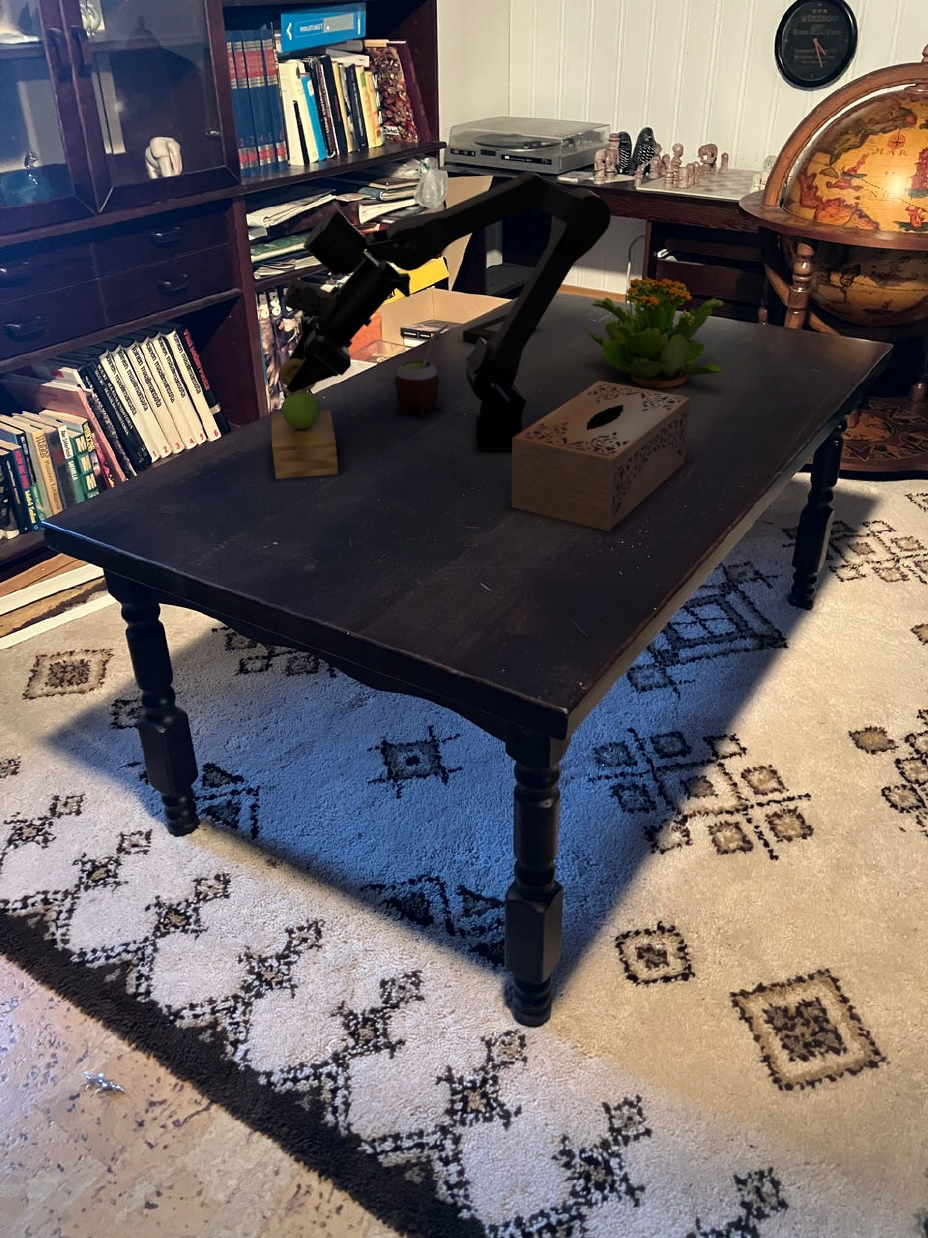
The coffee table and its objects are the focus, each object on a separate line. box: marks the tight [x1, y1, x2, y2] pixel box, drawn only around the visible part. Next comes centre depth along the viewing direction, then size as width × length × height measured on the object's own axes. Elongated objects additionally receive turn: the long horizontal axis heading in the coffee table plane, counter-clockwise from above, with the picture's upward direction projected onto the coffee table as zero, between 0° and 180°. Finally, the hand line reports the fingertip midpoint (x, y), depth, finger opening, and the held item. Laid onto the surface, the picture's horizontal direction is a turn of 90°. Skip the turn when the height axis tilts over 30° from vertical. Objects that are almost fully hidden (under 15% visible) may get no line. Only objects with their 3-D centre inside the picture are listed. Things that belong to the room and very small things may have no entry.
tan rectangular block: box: [270, 409, 339, 480], centre depth 156 cm, size 9×13×5 cm
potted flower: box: [583, 276, 724, 389], centre depth 180 cm, size 25×24×18 cm
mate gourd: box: [394, 324, 449, 419], centre depth 170 cm, size 8×8×15 cm
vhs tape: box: [462, 314, 537, 345], centre depth 208 cm, size 8×14×2 cm, turn 141°
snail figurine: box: [279, 359, 321, 429], centre depth 152 cm, size 5×6×12 cm
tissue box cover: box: [511, 380, 692, 533], centre depth 146 cm, size 26×14×10 cm, turn 148°
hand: (288, 379), depth 151 cm, fingers open, 9 cm apart
